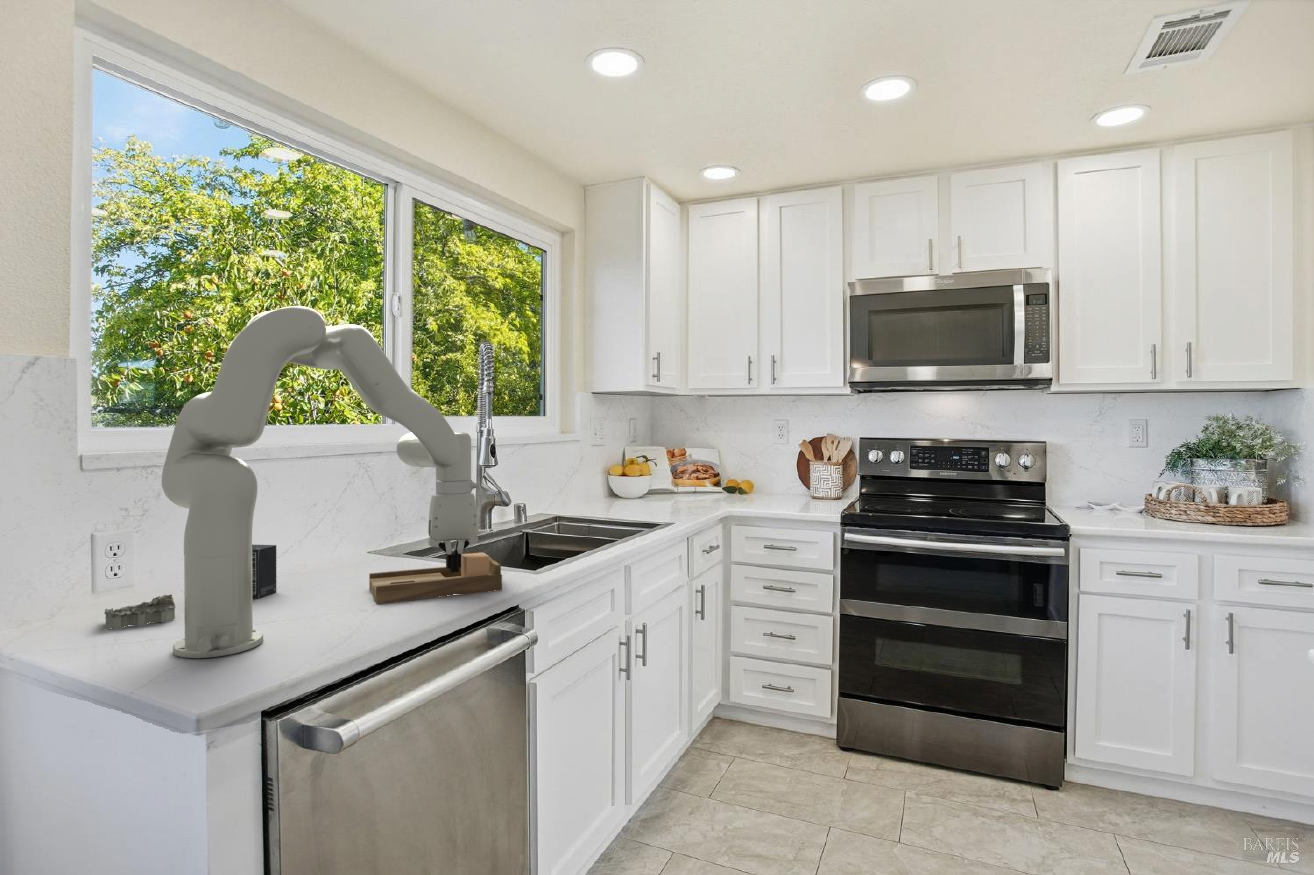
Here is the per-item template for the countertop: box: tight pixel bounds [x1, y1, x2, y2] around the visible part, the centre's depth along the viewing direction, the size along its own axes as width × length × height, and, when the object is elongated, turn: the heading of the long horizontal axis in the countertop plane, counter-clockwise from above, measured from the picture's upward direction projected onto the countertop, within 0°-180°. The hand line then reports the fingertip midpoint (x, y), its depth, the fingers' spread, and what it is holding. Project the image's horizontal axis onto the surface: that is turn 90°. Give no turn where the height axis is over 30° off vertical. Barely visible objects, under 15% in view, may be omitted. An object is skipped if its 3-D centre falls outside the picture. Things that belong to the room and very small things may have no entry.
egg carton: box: [103, 593, 177, 630], centre depth 130 cm, size 11×8×4 cm
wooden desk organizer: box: [368, 556, 503, 605], centre depth 156 cm, size 14×26×6 cm, turn 118°
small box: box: [252, 544, 277, 599], centre depth 150 cm, size 11×6×10 cm, turn 84°
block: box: [461, 552, 490, 577], centre depth 157 cm, size 5×5×5 cm
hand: (453, 571), depth 155 cm, fingers closed
